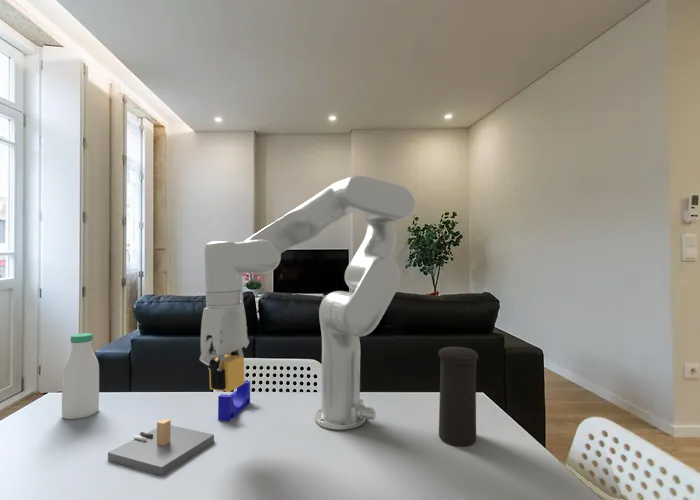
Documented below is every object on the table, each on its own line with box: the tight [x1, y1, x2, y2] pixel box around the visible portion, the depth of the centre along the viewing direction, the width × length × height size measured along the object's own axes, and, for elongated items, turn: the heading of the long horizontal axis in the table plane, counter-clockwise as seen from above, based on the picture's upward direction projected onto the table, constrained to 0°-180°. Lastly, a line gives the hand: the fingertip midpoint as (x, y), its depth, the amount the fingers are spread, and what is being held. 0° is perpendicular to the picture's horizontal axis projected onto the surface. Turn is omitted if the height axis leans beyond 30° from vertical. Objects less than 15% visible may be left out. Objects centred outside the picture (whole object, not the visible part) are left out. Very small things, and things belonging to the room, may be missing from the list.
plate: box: [107, 418, 215, 476], centre depth 81 cm, size 14×14×6 cm
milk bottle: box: [61, 332, 100, 420], centre depth 99 cm, size 8×8×20 cm
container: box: [438, 346, 479, 447], centre depth 88 cm, size 9×9×20 cm
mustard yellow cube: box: [208, 354, 245, 393], centre depth 83 cm, size 5×5×6 cm
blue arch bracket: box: [217, 380, 251, 422], centre depth 102 cm, size 12×4×6 cm, turn 171°
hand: (227, 383), depth 83 cm, fingers closed on mustard yellow cube, 5 cm apart
